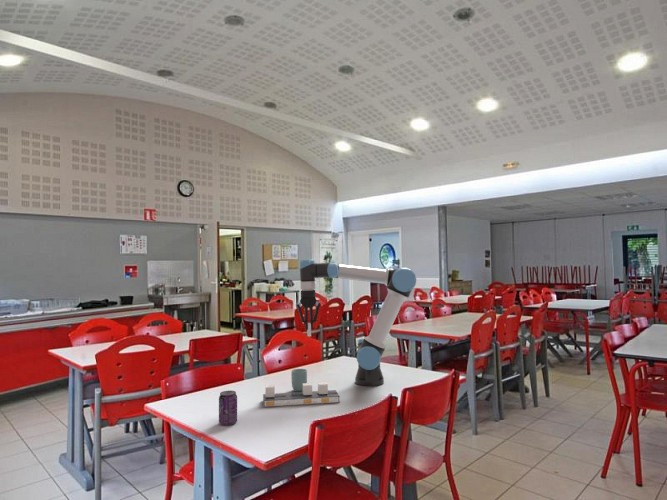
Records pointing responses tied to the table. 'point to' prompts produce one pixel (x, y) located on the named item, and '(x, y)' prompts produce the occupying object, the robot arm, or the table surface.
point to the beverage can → (228, 407)
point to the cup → (298, 379)
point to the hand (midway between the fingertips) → (309, 336)
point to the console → (300, 399)
